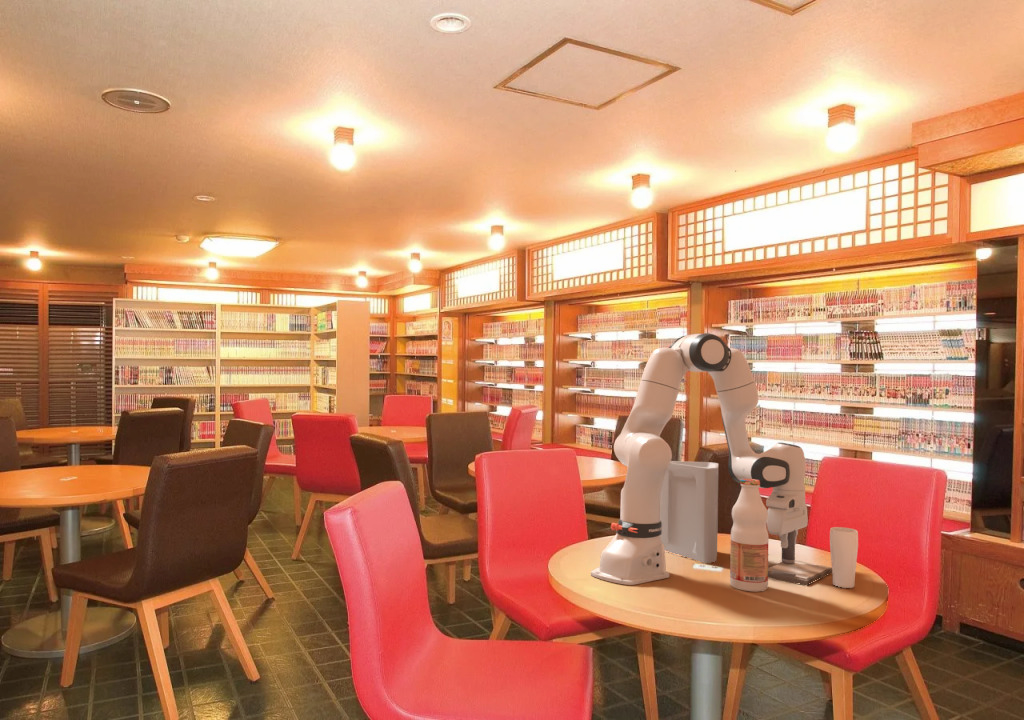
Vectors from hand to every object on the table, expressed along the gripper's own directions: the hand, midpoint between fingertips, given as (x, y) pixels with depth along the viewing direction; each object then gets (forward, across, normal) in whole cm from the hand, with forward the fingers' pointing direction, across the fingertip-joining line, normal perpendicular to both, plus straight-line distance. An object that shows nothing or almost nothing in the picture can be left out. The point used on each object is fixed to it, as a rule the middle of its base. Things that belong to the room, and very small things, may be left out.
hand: (788, 546), depth 203 cm
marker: (+5, 0, 0) cm, 5 cm away
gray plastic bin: (+6, +5, -26) cm, 28 cm away
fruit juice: (+6, +27, +1) cm, 28 cm away
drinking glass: (+6, +7, +18) cm, 20 cm away
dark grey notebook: (+6, +4, +4) cm, 9 cm away
